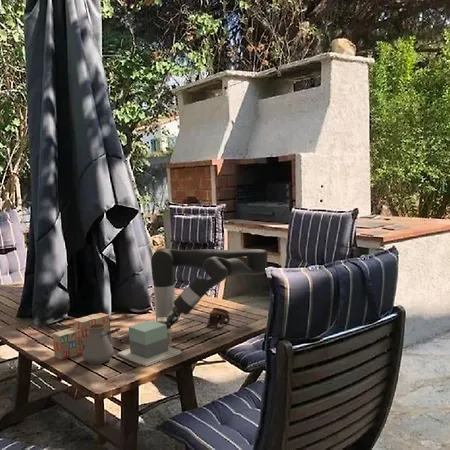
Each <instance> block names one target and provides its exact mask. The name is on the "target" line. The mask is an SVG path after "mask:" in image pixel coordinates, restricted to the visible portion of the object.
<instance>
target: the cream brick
mask: <svg viewBox="0 0 450 450" xmlns="http://www.w3.org/2000/svg"><path fill="white" fill-rule="evenodd" d="M166 318H167V317H161V318H158V319H157V322H159V323H162V324H164V323H165V322H166ZM167 324H168V325H170V323H167ZM167 340H168V344H169V343H172V326H171V327H170V329H167Z"/></svg>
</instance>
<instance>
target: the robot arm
mask: <svg viewBox="0 0 450 450" xmlns="http://www.w3.org/2000/svg"><path fill="white" fill-rule="evenodd" d="M244 257H246V263H245V262H244V261H243V260H241V258H244ZM150 265H151V266H150V267H151V278H152V283H153V295H154V297H153V299H154V309H155V310H154V311H155V322H157V319H158V318H161V317H167V318H166V322H165V323H164V324H166V325H167V329H170V327H171V328H172V326H174V324H176V323H177V322H179V319H180V318H181V315H182V314H184V315H185V316H186V315H189V313H191V311H192V310H193V309H194V308H195V307H196V306H197V305H198V303H200V301H201V300H202V299H203V297H204V296H205V295H206V294H207V293H208V292H209V291H210V290H211V289H212V288H214V287H215V286H217V285H218V284H220V283H221V282H223V281H224V280H225V279H227V277H231V276H236V275H246V276H247V275H250V276H252V275H255V276H256V275H262V274H265V273H266V272H265V268H267V269H268V252H267V250H266V249H261V248H260V249H259V248H256V249H255V248H253V249H252V248H251V249H250V248H248V249H210V248H209V249H208V248H207V249H206V248H205V249H204V248H202V249H185V250H184V249H173V248H164V247H163V248H158V249H157V250H155V251H154V252H153V254H152V255H151V259H150ZM174 267H187V268H191V269H196V270H200V271H201V270H202V271H204V272H205V273H206V274H207V276H208V277H209V278H210V279H205V278H204V277H202V276H196V278H194V280H193V281H191V283H190V284H189V285H188V286H187V287H186V288H185V289H184V290H183V291H182V292H181V293H180V294H179V295H178V296H177V297H176V292H175V291H176V290H175V278H174ZM167 323H170V325H168V324H167Z"/></svg>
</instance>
